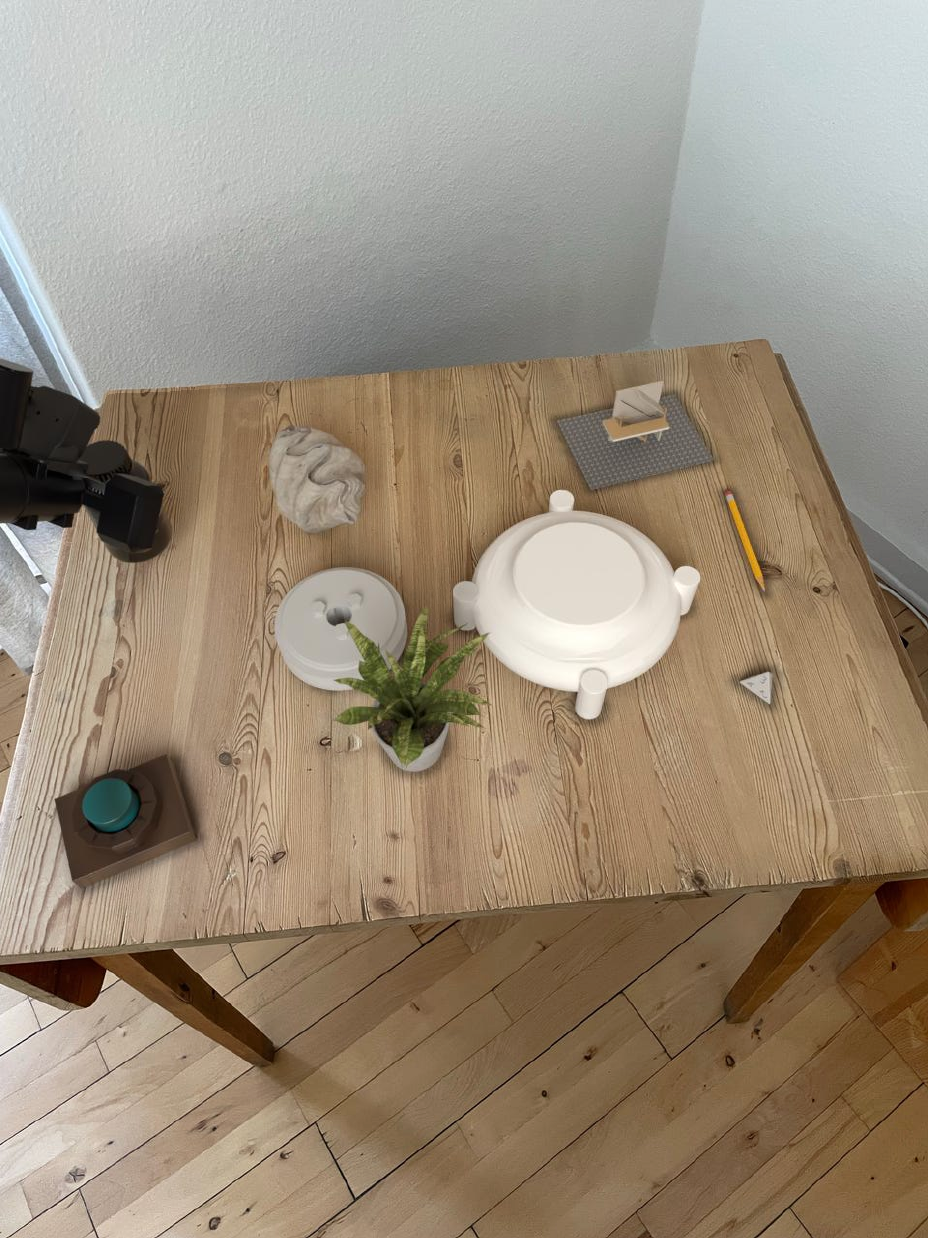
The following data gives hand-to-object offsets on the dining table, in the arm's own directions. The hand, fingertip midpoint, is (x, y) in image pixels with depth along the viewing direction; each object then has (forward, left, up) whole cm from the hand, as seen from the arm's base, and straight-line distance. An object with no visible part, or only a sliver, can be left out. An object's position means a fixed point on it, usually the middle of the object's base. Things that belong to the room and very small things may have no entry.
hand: (128, 487), depth 86 cm
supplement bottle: (-1, -1, -7) cm, 7 cm away
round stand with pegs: (+36, -27, -10) cm, 46 cm away
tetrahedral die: (+48, -42, -10) cm, 64 cm away
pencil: (+57, -27, -10) cm, 64 cm away
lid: (+14, -20, -10) cm, 26 cm away
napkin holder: (+54, -9, -10) cm, 56 cm away
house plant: (+16, -35, -10) cm, 39 cm away
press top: (-10, -29, -6) cm, 32 cm away
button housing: (-10, -29, -9) cm, 33 cm away
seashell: (+18, -3, -10) cm, 21 cm away
